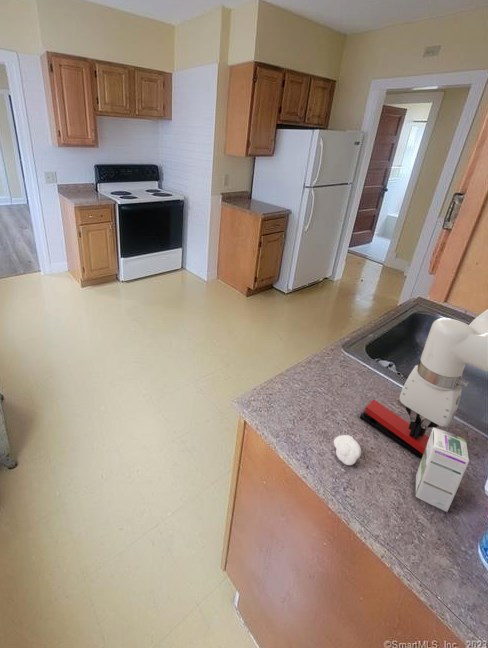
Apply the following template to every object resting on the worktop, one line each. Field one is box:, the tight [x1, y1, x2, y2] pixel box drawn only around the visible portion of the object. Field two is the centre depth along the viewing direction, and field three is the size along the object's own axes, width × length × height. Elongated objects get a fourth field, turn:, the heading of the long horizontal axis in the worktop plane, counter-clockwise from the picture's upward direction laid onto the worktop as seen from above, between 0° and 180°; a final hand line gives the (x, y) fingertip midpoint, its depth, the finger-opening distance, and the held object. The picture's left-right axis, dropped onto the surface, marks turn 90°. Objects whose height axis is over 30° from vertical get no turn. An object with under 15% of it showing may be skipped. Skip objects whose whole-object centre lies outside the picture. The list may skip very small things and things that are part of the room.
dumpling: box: [333, 434, 362, 466], centre depth 75 cm, size 7×5×4 cm
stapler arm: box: [363, 399, 430, 454], centre depth 80 cm, size 15×4×2 cm, turn 38°
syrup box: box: [414, 427, 470, 513], centre depth 65 cm, size 6×6×14 cm
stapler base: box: [359, 411, 423, 460], centre depth 81 cm, size 16×5×2 cm, turn 38°
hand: (415, 434), depth 77 cm, fingers closed
